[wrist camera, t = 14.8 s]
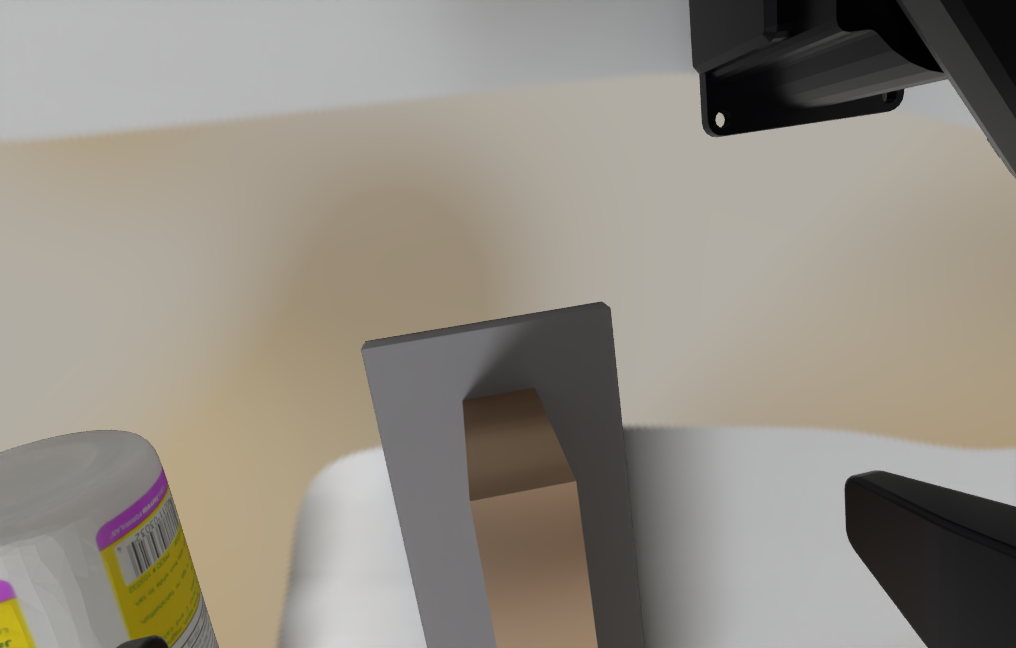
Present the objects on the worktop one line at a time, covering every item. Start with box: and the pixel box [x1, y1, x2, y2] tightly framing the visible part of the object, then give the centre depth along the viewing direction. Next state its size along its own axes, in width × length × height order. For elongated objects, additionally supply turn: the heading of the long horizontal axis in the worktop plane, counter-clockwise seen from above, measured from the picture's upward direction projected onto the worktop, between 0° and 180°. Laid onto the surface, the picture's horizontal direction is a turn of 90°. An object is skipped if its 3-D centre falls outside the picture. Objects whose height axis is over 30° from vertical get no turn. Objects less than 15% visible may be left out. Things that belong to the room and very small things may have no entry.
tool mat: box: [361, 302, 645, 648], centre depth 21 cm, size 8×22×1 cm, turn 8°
